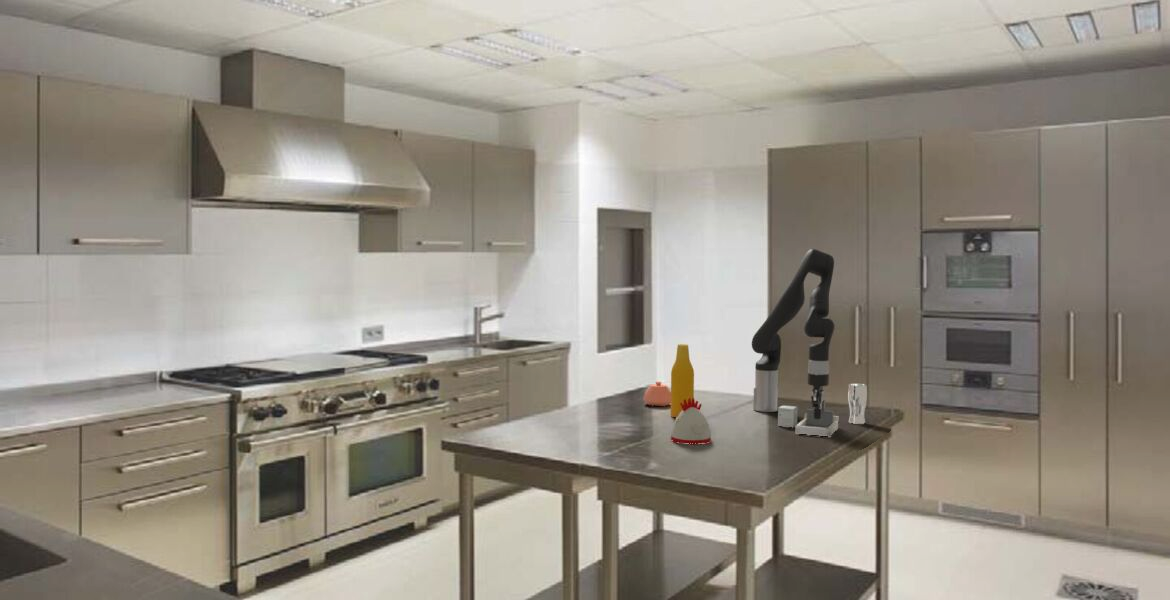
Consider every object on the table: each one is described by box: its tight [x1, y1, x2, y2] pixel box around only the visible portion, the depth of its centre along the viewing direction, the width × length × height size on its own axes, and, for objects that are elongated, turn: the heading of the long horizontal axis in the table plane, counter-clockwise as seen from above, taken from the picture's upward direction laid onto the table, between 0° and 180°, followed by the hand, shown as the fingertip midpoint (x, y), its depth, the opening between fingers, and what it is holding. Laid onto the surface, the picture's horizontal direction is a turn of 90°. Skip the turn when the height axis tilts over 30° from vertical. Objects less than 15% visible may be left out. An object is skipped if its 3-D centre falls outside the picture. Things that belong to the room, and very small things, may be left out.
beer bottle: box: [670, 343, 695, 418], centre depth 341 cm, size 9×9×29 cm
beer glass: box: [847, 382, 868, 425], centre depth 331 cm, size 7×7×15 cm
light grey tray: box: [794, 412, 840, 438], centre depth 315 cm, size 12×18×5 cm
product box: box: [777, 405, 798, 429], centre depth 325 cm, size 6×6×7 cm
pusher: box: [806, 399, 834, 427], centre depth 320 cm, size 9×1×10 cm, turn 65°
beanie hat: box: [670, 398, 712, 444], centre depth 298 cm, size 14×14×15 cm
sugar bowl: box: [643, 381, 671, 407], centre depth 368 cm, size 12×14×10 cm
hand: (817, 418), depth 315 cm, fingers closed
